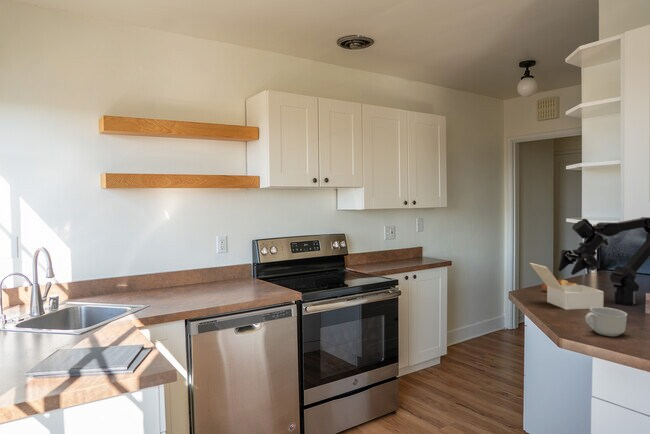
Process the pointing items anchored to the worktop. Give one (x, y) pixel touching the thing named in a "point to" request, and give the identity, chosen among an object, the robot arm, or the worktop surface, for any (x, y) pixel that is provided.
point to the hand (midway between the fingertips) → (565, 272)
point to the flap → (547, 277)
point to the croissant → (561, 282)
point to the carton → (575, 297)
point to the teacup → (606, 321)
